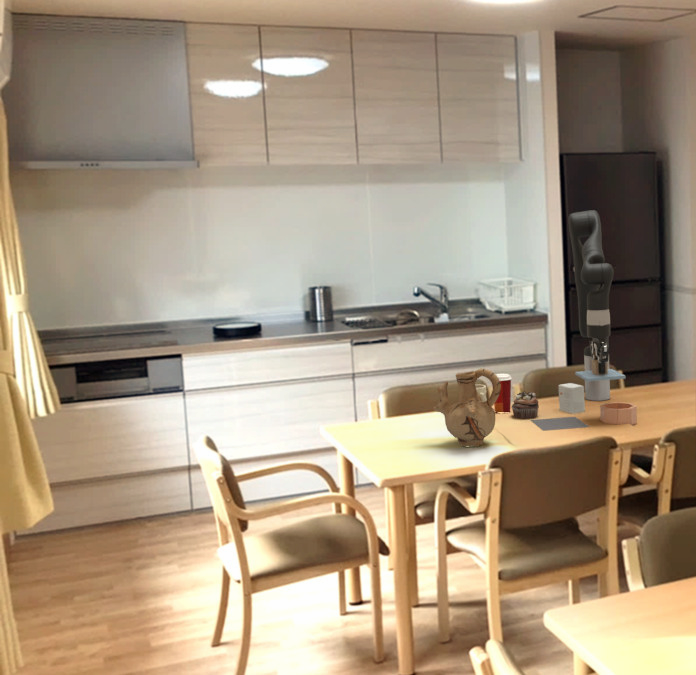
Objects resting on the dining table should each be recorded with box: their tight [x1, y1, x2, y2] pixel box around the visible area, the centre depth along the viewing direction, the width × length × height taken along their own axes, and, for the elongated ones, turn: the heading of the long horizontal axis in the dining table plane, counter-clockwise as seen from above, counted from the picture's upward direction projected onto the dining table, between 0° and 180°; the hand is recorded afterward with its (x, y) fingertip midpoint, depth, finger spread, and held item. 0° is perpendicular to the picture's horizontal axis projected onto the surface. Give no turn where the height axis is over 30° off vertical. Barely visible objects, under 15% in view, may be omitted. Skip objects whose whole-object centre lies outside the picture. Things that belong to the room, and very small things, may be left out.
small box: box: [558, 382, 586, 415], centre depth 311 cm, size 8×6×10 cm
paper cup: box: [491, 373, 513, 413], centre depth 320 cm, size 8×8×14 cm
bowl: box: [599, 401, 638, 426], centre depth 293 cm, size 11×11×6 cm
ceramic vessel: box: [432, 368, 501, 448], centre depth 276 cm, size 18×19×25 cm
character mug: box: [475, 383, 488, 402], centre depth 308 cm, size 11×7×13 cm, turn 18°
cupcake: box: [511, 391, 539, 420], centre depth 307 cm, size 10×10×10 cm
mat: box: [529, 416, 590, 432], centre depth 294 cm, size 16×16×1 cm
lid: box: [574, 360, 626, 382], centre depth 291 cm, size 13×13×6 cm
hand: (599, 372), depth 291 cm, fingers closed on lid, 4 cm apart
